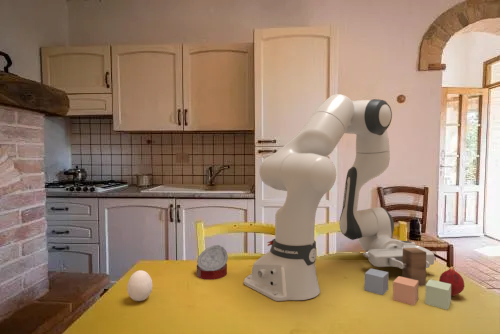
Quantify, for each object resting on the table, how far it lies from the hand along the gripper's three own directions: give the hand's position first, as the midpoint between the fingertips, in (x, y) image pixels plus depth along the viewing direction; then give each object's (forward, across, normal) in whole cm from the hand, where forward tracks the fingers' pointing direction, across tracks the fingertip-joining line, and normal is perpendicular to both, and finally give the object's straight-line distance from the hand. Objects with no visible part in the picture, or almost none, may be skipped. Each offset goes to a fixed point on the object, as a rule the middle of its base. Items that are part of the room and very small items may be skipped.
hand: (415, 265), depth 93 cm
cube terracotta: (+9, -9, +6) cm, 14 cm away
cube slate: (+2, -14, +6) cm, 15 cm away
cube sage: (+12, -2, +6) cm, 13 cm away
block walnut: (-1, 0, +6) cm, 6 cm away
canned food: (-16, -60, +6) cm, 63 cm away
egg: (+1, -79, +6) cm, 80 cm away
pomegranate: (+8, +5, +6) cm, 11 cm away
